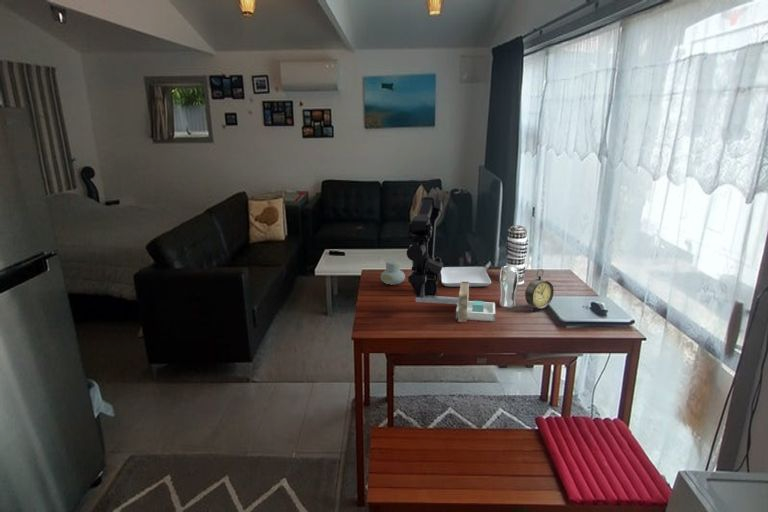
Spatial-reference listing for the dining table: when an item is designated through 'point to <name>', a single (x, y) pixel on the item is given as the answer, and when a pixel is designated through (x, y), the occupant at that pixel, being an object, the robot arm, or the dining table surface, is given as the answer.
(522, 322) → the dining table surface
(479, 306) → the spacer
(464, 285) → the guide frame
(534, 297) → the alarm clock
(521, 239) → the decorative candle
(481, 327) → the dining table surface
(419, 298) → the grey l-shaped block
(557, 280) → the dining table surface
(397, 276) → the air freshener
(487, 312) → the tray
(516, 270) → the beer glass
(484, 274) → the salad plate
